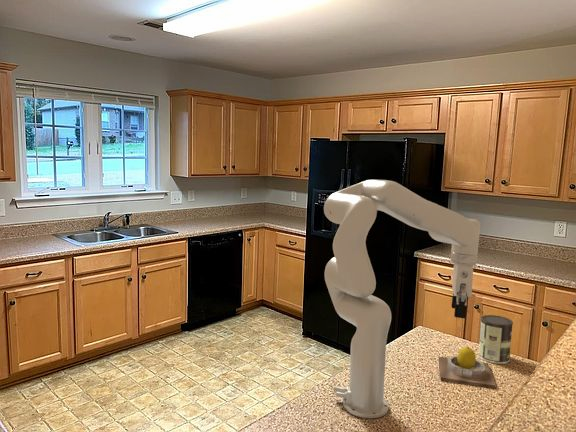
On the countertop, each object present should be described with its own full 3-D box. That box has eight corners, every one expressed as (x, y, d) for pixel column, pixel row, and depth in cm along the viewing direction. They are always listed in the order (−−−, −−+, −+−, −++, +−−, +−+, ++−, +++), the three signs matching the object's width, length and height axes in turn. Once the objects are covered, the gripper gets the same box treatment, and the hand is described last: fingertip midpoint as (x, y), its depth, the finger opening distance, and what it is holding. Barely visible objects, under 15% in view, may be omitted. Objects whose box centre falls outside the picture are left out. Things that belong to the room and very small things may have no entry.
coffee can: (504, 353, 162) (507, 315, 161) (513, 365, 152) (517, 326, 151) (474, 350, 164) (477, 313, 162) (482, 362, 154) (485, 323, 152)
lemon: (475, 375, 142) (478, 351, 141) (456, 372, 144) (459, 348, 143) (472, 367, 148) (475, 344, 147) (455, 364, 149) (458, 342, 148)
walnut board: (440, 380, 140) (440, 377, 140) (438, 359, 156) (438, 356, 156) (495, 388, 136) (495, 385, 136) (487, 366, 151) (488, 363, 151)
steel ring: (448, 375, 142) (449, 367, 142) (446, 360, 153) (447, 353, 152) (485, 380, 139) (486, 372, 139) (481, 365, 150) (481, 358, 149)
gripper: (480, 265, 127) (474, 323, 129) (473, 255, 144) (467, 306, 145) (453, 262, 129) (447, 319, 131) (448, 252, 146) (443, 303, 147)
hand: (458, 312), depth 138 cm, fingers open, 9 cm apart
